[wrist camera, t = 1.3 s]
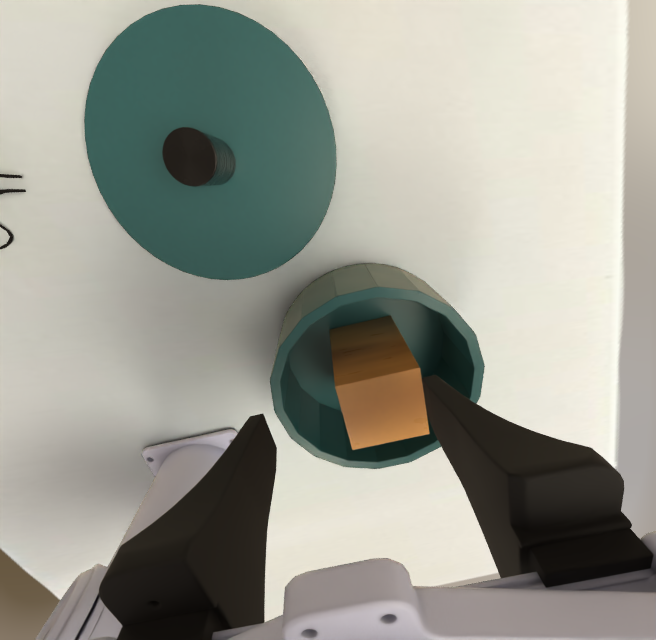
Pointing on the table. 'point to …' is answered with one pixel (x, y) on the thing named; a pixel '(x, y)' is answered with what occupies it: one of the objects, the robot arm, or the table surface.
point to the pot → (317, 367)
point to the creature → (9, 192)
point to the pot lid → (210, 142)
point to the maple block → (377, 383)
